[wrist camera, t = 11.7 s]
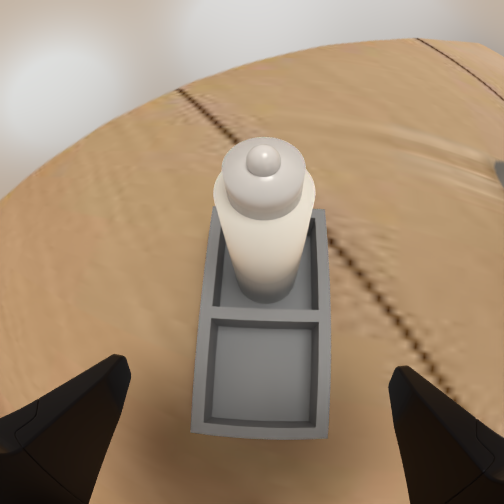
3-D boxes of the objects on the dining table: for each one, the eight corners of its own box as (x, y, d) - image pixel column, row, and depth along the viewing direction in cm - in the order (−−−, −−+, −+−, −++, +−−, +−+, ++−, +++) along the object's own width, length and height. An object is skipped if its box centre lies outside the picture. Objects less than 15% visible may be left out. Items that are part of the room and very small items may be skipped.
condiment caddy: (316, 428, 18) (327, 438, 15) (203, 423, 19) (190, 432, 15) (317, 234, 25) (324, 209, 22) (220, 231, 26) (212, 206, 22)
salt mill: (278, 314, 21) (291, 217, 9) (226, 286, 23) (179, 169, 10) (305, 264, 23) (339, 136, 11) (255, 240, 24) (243, 103, 12)
